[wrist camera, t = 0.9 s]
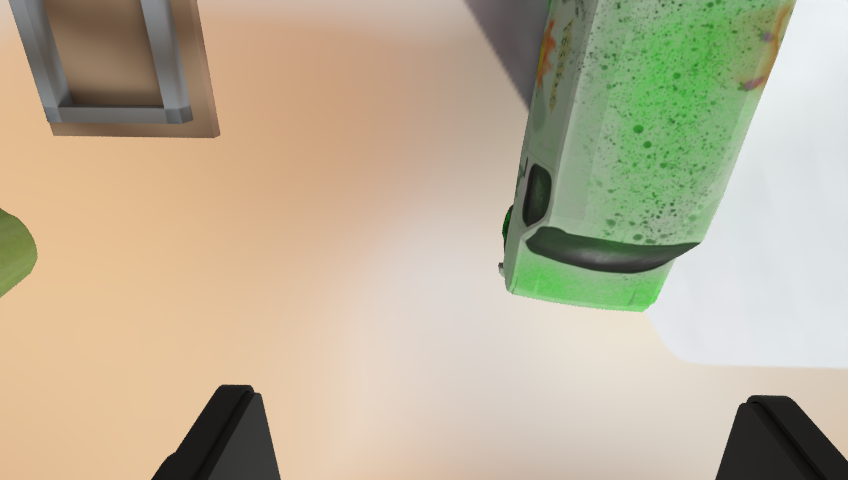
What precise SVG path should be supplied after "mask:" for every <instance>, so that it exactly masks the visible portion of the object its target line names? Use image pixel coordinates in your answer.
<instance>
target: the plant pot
mask: <svg viewBox="0 0 848 480" xmlns="http://www.w3.org/2000/svg"><path fill="white" fill-rule="evenodd" d="M36 260H37V249H36V245H35V242H34V239H33V237H32V235H31V234H30V232H29V231H28V229H27V228H26V226H25V225H24V224H23V223H22V222H21V221H20V220H19V219H18V218H17V217H15V216H13V215H10V214H8V213H6V212H5V211H4V210H2V209H1V208H0V298H1V297H2V296H3V295H4V294H5V293H7V292H8V291H9V290H10V289H12V287H14V286H15V285H16V284H18V283H19V282H20V281H21V280H22V279H24V278H25V277H26V276H27V275H28V274H30V273H31V271H32V269H33V267H34V265H35V263H36Z"/></svg>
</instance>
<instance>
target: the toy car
mask: <svg viewBox="0 0 848 480" xmlns="http://www.w3.org/2000/svg"><path fill="white" fill-rule="evenodd" d="M795 3H796V0H550V2H549V10H548V19H547V22H546V24H545V27H544V33H543V39H542V44H541V50H540V56H539V62H538V67H537V73H536V79H535V84H534V90H533V95H532V100H531V105H530V110H529V116H528V121H527V126H526V131H525V136H524V141H523V147H522V152H521V158H520V165H519V172H518V178H517V185H516V192H515V198H514V205H512V206H511V207H510V208H509V210H508V212H507V214H506V216H505V220H504V224H503V230H502V235H503V238H504V254H505V256H504V263H499V265H498V267H499V273H500V274H501V275H502V276H503V277H505V284H506V289H507V291H509V292H511V293H512V294H514V295H519V296H524V297H528V298H533V299H538V300H543V301H548V302H554V303H560V304H567V305H573V306H580V307H588V308H597V309H605V310H619V311H635V312H643V311H644V310H645V309H647V308H648V307H649V306H650V305H651V304H653V303H655V301H656V299H657V297H658V295H659V293H660V290H661V288H662V286H663V284H664V282H665V280H666V278H667V276H668V273H669V271H670V269H671V267H672V265H673V263H674V261H675V259H676V257H678V256H680V255H682V254H684V253H685V252H687V251H689V250H690V249H692V248H694V247H695V246H697V245H699V244H700V243H701V242H702V241H703V240H704V238H705V235H706V232H707V230H708V228H709V226H710V224H711V221H712V219H713V217H714V215H715V213H716V210H717V208H718V206H719V204H720V202H721V199H722V197H723V195H724V192H725V189H726V187H727V184H728V181H729V179H730V176H731V174H732V171H733V169H734V166H735V163H736V161H737V158H738V155H739V153H740V150H741V147H742V144H743V142H744V139H745V136H746V134H747V131H748V128H749V126H750V123H751V120H752V118H753V115H754V113H755V110H756V108H757V105H758V103H759V100H760V98H761V95H762V93H763V90H764V88H765V85H766V83H767V80H768V78H769V75H770V72H771V70H772V67H773V65H774V62H775V60H776V57H777V55H778V52H779V49H780V46H781V43H782V41H783V38H784V35H785V32H786V29H787V26H788V23H789V20H790V17H791V15H792V12H793V9H794V6H795Z"/></svg>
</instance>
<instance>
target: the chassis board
mask: <svg viewBox="0 0 848 480" xmlns="http://www.w3.org/2000/svg"><path fill="white" fill-rule="evenodd" d="M9 3H10V6H11V9H12V12H13V15H14V18H15V22H16V25H17V28H18V31H19V34H20V37H21V40H22V43H23V46H24V49H25V53H26V56H27V59H28V62H29V65H30V68H31V71H32V74H33V77H34V80H35V83H36V87H37V90H38V93H39V96H40V99H41V102H42V105H43V108H44V111H45V114H46V118H47V121H48V122H49V123H50V126H51V129H52V132H53V135H54V136H112V137H180V138H181V137H183V138H215V137H217V136H219V135H220V130H219V125H218V119H217V113H216V107H215V102H214V96H213V90H212V85H211V79H210V73H209V68H208V62H207V57H206V51H205V45H204V40H203V34H202V28H201V22H200V17H199V11H198V6H197V0H9Z"/></svg>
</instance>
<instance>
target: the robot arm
mask: <svg viewBox="0 0 848 480" xmlns="http://www.w3.org/2000/svg"><path fill="white" fill-rule="evenodd" d="M151 480H281V479H280V474H279V470H278V466H277V461H276V457H275V452H274V448H273V444H272V439H271V435H270V431H269V426H268V422H267V417H266V414H265V409H264V405H263V400H262V397H261V394H260V393H254V390H253V388H252V387H251V386H250V385H221V386H219V388H218V389H217V390H216V391H215V393H214V394H213V396H212V397H211V399H210V400H209V402H208V403H207V405H206V406H205V408H204V409H203V411H202V412H201V414H200V416H199V417H198V418H197V420H196V422H195V423H194V425H193V426H192V428H191V429H190V431H189V432H188V434H187V435H186V437H185V438H184V440H183V441H182V443H181V444H180V446H179V448H178V449H177V450H176V452H175V453H173V454H171V455H170V456H168V457H167V459H166V460H165V461H164V462H163V463H162V464H161V466H160V467H159V469H158V470H157V472H156V473H155V475H154V476H153V478H152V479H151ZM715 480H848V461H847V460H846V459H845V458H844V456H843V455H842V454H841V453H840V452H839V451H838V450H837V449H836V447H835V446H834V445H833V444H832V443H831V442H830V441H829V440H828V438H827V437H826V436H825V435H824V434H823V433H822V432H821V431H820V429H819V428H818V427H817V426H816V425H815V424H814V423H813V421H812V420H811V419H810V418H809V417H808V416H807V415H806V414H805V413H804V411H803V410H802V409H801V408H800V407H799V406H798V405H797V403H796V402H795V401H793V400H792V399H791V398H789V397H787V396H767V395H753V396H751V397H749V398H748V400H747V402H746V403H742V404H741V405H739V408H738V410H737V414H736V416H735V420H734V423H733V426H732V429H731V432H730V435H729V438H728V442H727V445H726V448H725V451H724V454H723V457H722V460H721V464H720V467H719V470H718V473H717V476H716V479H715Z"/></svg>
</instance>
